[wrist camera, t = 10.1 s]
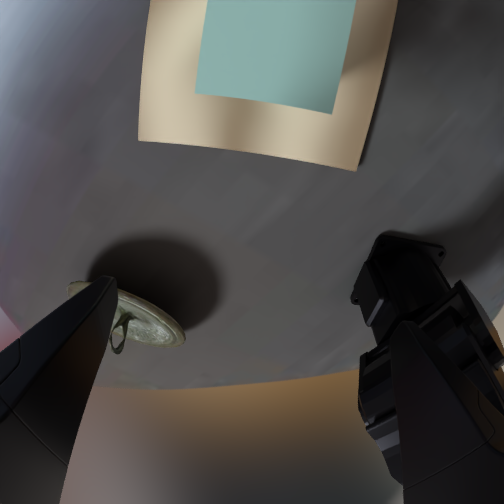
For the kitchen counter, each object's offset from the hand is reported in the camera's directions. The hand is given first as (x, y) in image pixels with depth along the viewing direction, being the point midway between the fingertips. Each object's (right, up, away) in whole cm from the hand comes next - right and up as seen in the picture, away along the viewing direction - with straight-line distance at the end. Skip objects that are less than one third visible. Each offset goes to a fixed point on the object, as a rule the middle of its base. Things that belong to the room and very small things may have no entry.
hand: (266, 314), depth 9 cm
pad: (0, +13, +5) cm, 14 cm away
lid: (-11, -2, +17) cm, 20 cm away
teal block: (0, +13, +5) cm, 14 cm away
